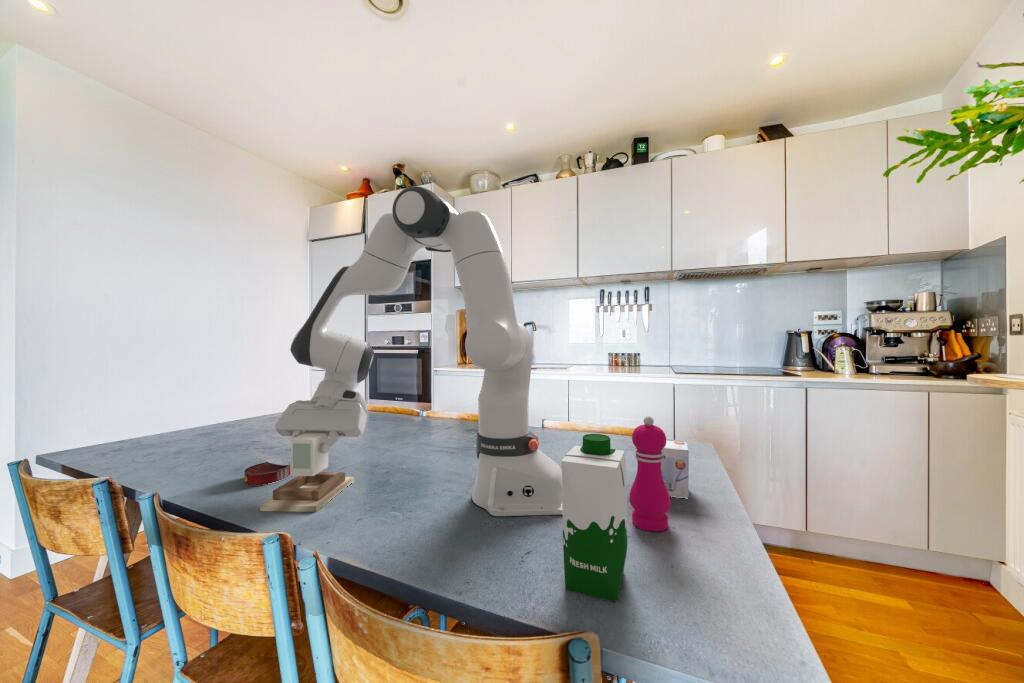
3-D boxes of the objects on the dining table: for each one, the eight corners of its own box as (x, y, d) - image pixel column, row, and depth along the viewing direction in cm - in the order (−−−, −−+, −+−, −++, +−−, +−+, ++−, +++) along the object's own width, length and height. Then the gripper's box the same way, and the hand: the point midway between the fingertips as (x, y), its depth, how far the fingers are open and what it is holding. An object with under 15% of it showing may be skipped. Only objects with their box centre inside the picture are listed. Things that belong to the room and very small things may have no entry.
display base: (354, 481, 91) (354, 468, 91) (316, 511, 75) (316, 496, 75) (307, 481, 92) (307, 468, 92) (259, 511, 76) (259, 495, 76)
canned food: (259, 492, 97) (267, 453, 102) (296, 488, 97) (303, 449, 101) (226, 487, 87) (237, 444, 92) (267, 483, 87) (276, 440, 91)
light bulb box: (637, 493, 82) (636, 445, 82) (638, 482, 89) (638, 437, 89) (690, 500, 78) (689, 449, 78) (688, 488, 85) (687, 441, 85)
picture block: (328, 466, 86) (328, 432, 86) (312, 476, 80) (312, 439, 80) (308, 466, 87) (307, 432, 87) (290, 476, 80) (290, 439, 80)
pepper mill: (651, 537, 64) (650, 422, 64) (621, 520, 70) (620, 415, 70) (679, 527, 67) (678, 417, 67) (648, 511, 74) (647, 411, 73)
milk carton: (630, 569, 55) (629, 436, 55) (622, 610, 47) (621, 453, 47) (573, 556, 59) (571, 430, 59) (556, 592, 50) (554, 446, 50)
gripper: (285, 393, 91) (256, 444, 81) (366, 393, 90) (347, 445, 80) (297, 407, 95) (271, 457, 86) (374, 408, 94) (356, 459, 84)
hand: (308, 451), depth 83 cm, fingers closed on picture block, 5 cm apart
